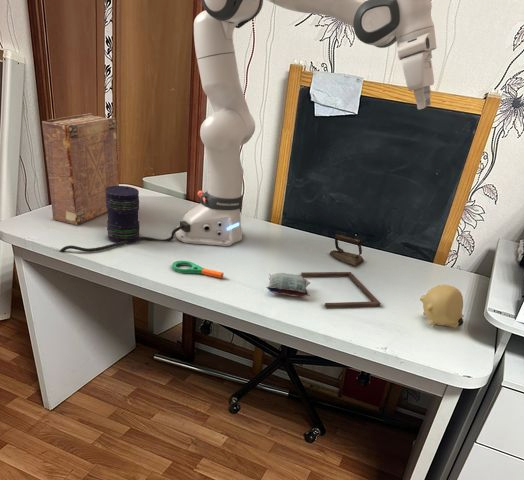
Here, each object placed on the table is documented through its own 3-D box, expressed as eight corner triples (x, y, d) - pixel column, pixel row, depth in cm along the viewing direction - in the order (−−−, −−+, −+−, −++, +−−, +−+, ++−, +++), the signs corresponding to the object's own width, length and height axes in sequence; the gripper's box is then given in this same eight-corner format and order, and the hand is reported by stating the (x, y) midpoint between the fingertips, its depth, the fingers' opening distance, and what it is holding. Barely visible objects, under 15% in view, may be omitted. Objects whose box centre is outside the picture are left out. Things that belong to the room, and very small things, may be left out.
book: (98, 201, 184) (92, 112, 168) (120, 206, 182) (116, 117, 166) (52, 219, 163) (41, 120, 147) (77, 225, 161) (68, 126, 145)
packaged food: (268, 282, 142) (270, 266, 139) (309, 288, 141) (312, 272, 139) (265, 295, 134) (267, 279, 132) (308, 302, 134) (311, 285, 131)
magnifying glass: (168, 269, 141) (168, 264, 140) (178, 262, 146) (178, 257, 145) (217, 282, 138) (218, 276, 137) (226, 274, 143) (226, 269, 142)
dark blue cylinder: (129, 246, 152) (127, 197, 144) (101, 239, 154) (98, 190, 146) (145, 236, 160) (145, 190, 152) (119, 230, 162) (117, 183, 154)
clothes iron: (356, 269, 158) (355, 239, 153) (325, 266, 164) (322, 237, 159) (365, 261, 163) (364, 231, 158) (334, 258, 169) (332, 230, 164)
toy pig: (440, 343, 131) (479, 322, 127) (421, 311, 125) (461, 289, 121) (429, 323, 139) (465, 303, 135) (410, 293, 133) (447, 271, 130)
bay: (325, 308, 132) (326, 304, 132) (300, 275, 148) (301, 272, 148) (380, 306, 137) (380, 303, 136) (349, 274, 153) (350, 271, 152)
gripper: (410, 51, 131) (418, 108, 136) (395, 50, 115) (405, 114, 120) (435, 43, 128) (442, 101, 133) (424, 40, 112) (432, 106, 117)
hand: (424, 107), depth 126 cm, fingers open, 8 cm apart
